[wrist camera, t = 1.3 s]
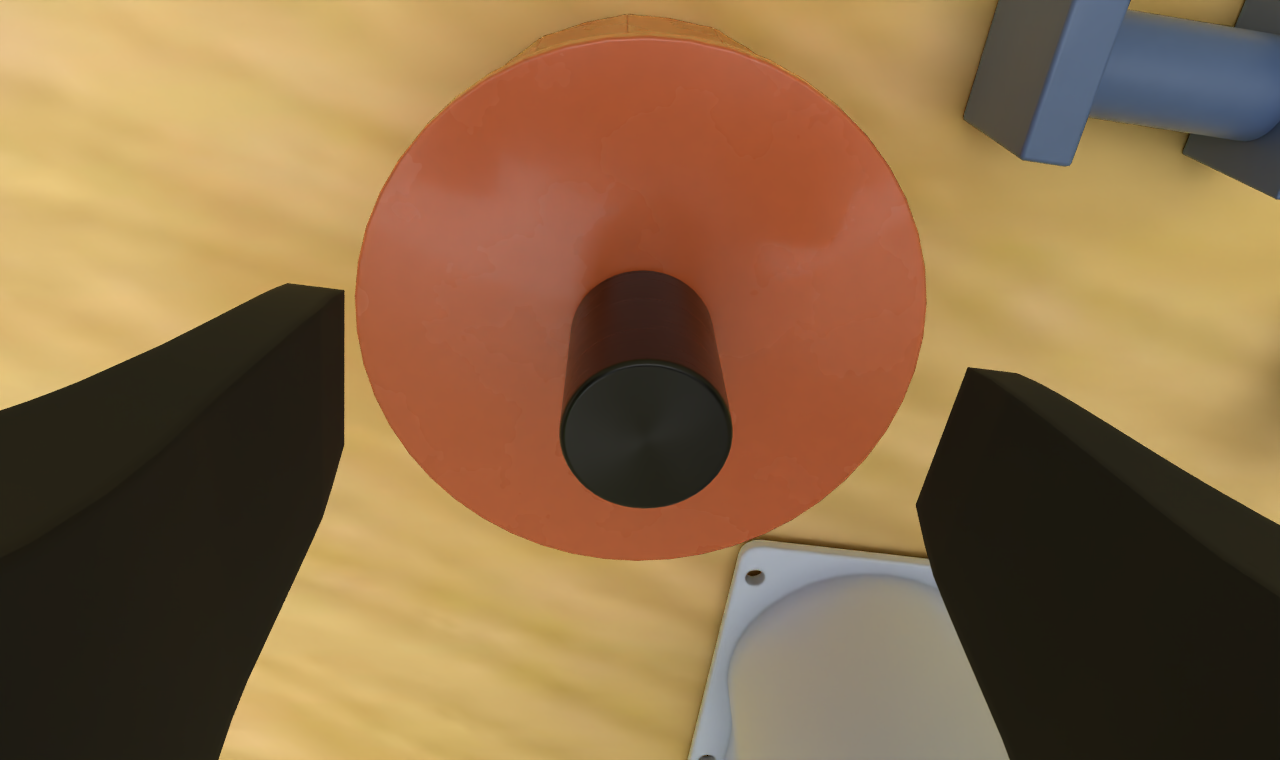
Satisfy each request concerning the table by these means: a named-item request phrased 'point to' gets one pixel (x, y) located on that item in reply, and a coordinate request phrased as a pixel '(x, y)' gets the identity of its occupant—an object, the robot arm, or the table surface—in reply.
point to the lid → (640, 296)
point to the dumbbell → (1133, 82)
